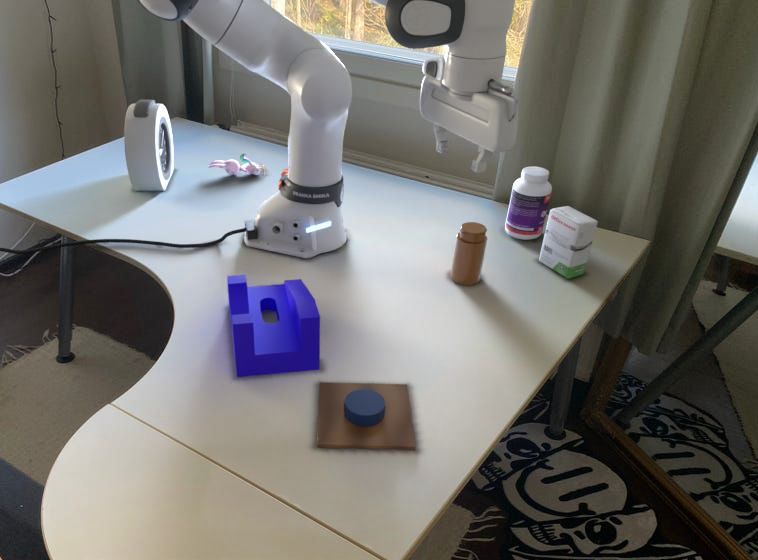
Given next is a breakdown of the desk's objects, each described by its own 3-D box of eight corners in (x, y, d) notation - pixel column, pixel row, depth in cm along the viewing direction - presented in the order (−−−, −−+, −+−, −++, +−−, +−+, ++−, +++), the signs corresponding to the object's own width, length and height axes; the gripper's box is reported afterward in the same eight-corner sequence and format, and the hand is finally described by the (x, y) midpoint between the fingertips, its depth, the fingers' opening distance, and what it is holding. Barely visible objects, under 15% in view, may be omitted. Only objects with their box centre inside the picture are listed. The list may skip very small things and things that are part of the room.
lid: (392, 411, 101) (393, 400, 100) (368, 433, 97) (369, 421, 96) (359, 394, 104) (360, 383, 103) (335, 414, 100) (336, 403, 99)
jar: (450, 283, 132) (458, 233, 125) (450, 269, 136) (458, 219, 129) (480, 286, 131) (489, 235, 124) (479, 271, 135) (488, 222, 129)
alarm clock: (161, 197, 164) (150, 116, 152) (131, 197, 164) (117, 115, 152) (176, 164, 181) (166, 89, 169) (148, 164, 181) (137, 88, 169)
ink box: (585, 274, 134) (600, 220, 127) (566, 279, 133) (581, 225, 125) (555, 255, 141) (568, 203, 133) (536, 260, 139) (549, 208, 132)
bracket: (319, 369, 110) (320, 316, 104) (237, 377, 109) (232, 324, 102) (301, 301, 127) (300, 252, 120) (229, 307, 125) (225, 258, 119)
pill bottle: (542, 243, 145) (557, 180, 136) (504, 240, 146) (517, 177, 137) (539, 227, 151) (554, 165, 142) (503, 223, 152) (515, 162, 144)
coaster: (317, 447, 96) (317, 444, 96) (319, 385, 107) (319, 382, 107) (414, 449, 95) (415, 446, 95) (406, 387, 107) (407, 384, 106)
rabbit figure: (263, 173, 179) (207, 167, 176) (266, 151, 176) (209, 145, 173) (265, 182, 175) (208, 176, 171) (268, 160, 171) (209, 154, 168)
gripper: (536, 87, 95) (517, 180, 103) (449, 55, 109) (438, 139, 117) (501, 93, 92) (485, 187, 101) (417, 59, 107) (408, 144, 115)
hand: (459, 161), depth 109 cm, fingers open, 8 cm apart
